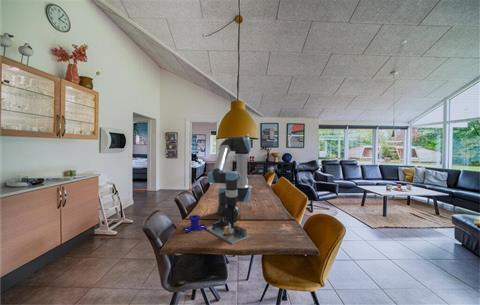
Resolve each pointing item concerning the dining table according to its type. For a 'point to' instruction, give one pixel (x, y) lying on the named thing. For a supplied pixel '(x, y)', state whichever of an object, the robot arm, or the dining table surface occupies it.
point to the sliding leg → (226, 229)
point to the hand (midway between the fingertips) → (231, 232)
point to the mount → (194, 224)
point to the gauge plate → (232, 238)
